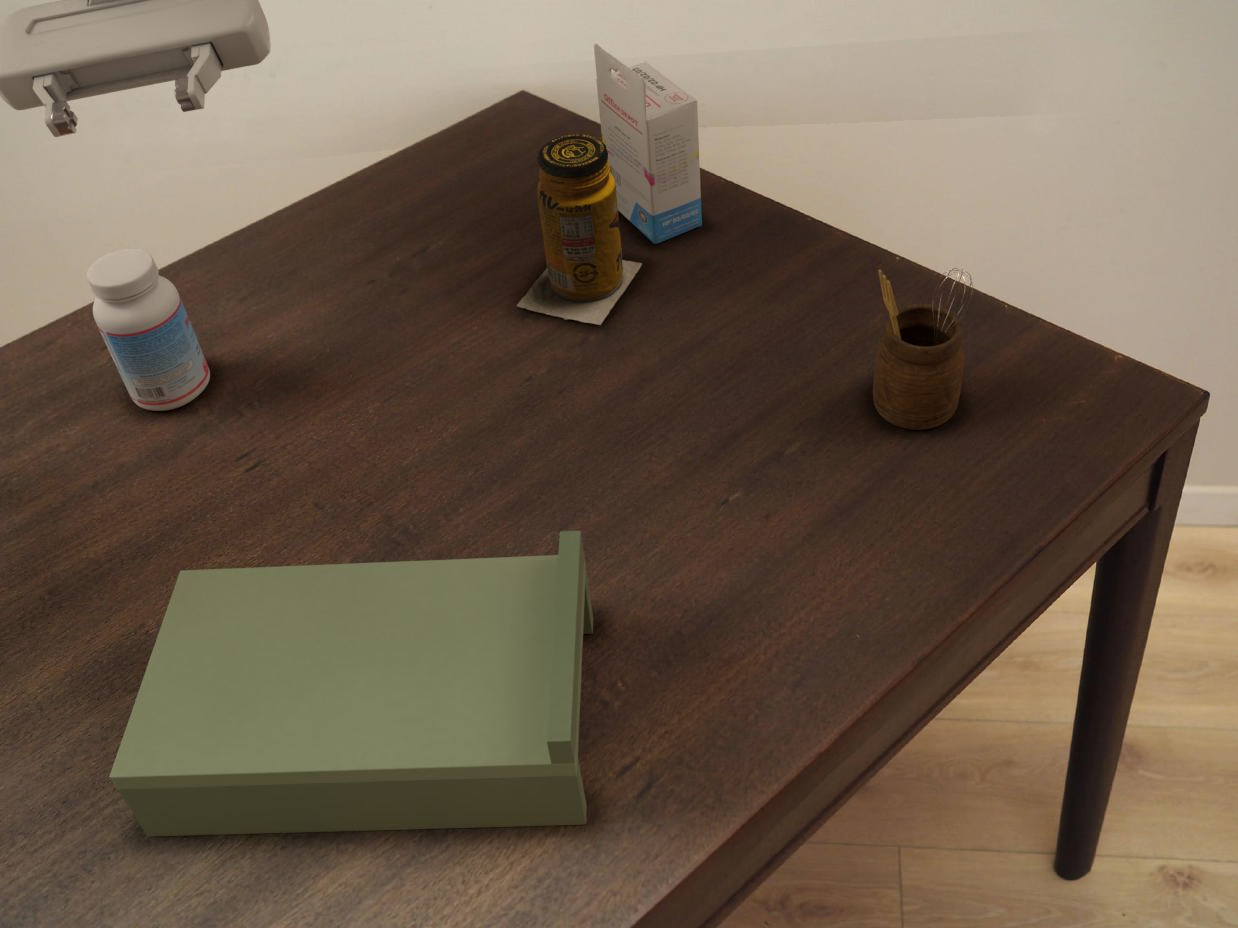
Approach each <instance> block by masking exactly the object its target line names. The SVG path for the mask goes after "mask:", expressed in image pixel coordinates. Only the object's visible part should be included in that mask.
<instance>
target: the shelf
mask: <svg viewBox="0 0 1238 928" xmlns="http://www.w3.org/2000/svg"><path fill="white" fill-rule="evenodd" d="M558 539H559V540H558V554H553V555H551V554H550V555H528V556H527V555H525V556H502V557H477V558H453V559H430V560H428V559H427V560H406V561H405V560H403V561H379V562H377V561H376V562H355V563H354V562H353V563H352V562H351V563H332V564H331V563H328V564H307V565H306V564H305V565H304V564H303V565H284V566H283V565H281V566H256V567H233V568H214V569H213V568H209V569H207V568H206V569H183V570H182V569H181V570H180V571H179V573H178V576H177V579H176V581H175V585H174V587H173V590H172V593H171V596H170V600H169V602H168V605H167V608H166V611H165V614H164V616H163V619H162V623H161V625H160V628H159V631H158V634H157V637H156V640H155V642H154V645H153V649H152V651H151V654H150V657H149V660H148V663H147V666H146V669H145V672H144V675H143V678H142V681H141V684H140V686H139V689H138V692H137V695H136V698H135V701H134V703H133V707H132V710H131V713H130V716H129V718H128V721H127V724H126V726H125V729H124V733H123V736H122V739H121V741H120V744H119V748H118V750H117V753H116V756H115V759H114V762H113V765H112V768H111V771H110V774H109V779H110V781H111V783H112V784H113V785H114V787H115V788H116V790H117V792H118V793H119V795H120V796H121V798H122V799H123V801H124V802H125V804H126V806H127V807H128V808H129V810H130V812H131V813H132V815H133V816H134V817H135V819H136V820H137V823H138V824H139V825H140V827H141V828H142V830H143V831H144V833H145V834H146V836H147V837H183V836H186V837H187V836H216V835H217V836H219V835H221V836H223V835H255V834H257V835H258V834H293V833H295V834H296V833H329V832H331V833H332V832H364V831H365V832H366V831H367V832H368V831H399V830H406V831H407V830H436V829H438V830H439V829H474V828H475V829H476V828H478V829H479V828H510V827H511V828H512V827H514V828H516V827H548V826H549V827H550V826H551V827H552V826H583V825H584V826H585V825H586V824H587V810H588V809H587V808H588V807H587V799H586V795H585V794H586V793H585V789H584V783H583V778H582V777H583V776H582V772H581V765H580V761H579V756H578V755H579V740H580V739H579V738H580V737H579V736H580V716H581V714H580V713H581V691H582V689H581V688H582V668H583V664H582V663H583V647H584V646H583V645H584V635H593V633H594V613H593V607H592V599H591V592H590V586H589V579H588V572H587V565H586V558H585V550H584V543H583V537H582V531H581V530H561V531H559V538H558Z"/></svg>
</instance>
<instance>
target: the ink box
mask: <svg viewBox="0 0 1238 928" xmlns="http://www.w3.org/2000/svg"><path fill="white" fill-rule="evenodd" d="M593 53H594V61H595V62H594V64H595V74H596V80H595V81H596V90H597V101H598V102H597V103H598V111H599V122H600V133H601V141H602V142H603V143H604V144H605V145H606V149H607V151H608V161H609V165H610V172H611V174H612V175H613V177H614V179H615V185H616V191H617V193H616V196H617V204H618V213H620V214H621V215H622V216H623V217H624V218H626V220H628V221H629V222H630V223H631V224H632V225H633V226H634V227H635V228H637V230H639V231H640V233H642V234H643V235H644V236H645V237H646V238H647V239H648V240H649V241H650V242H651V243H653V244H654V245H657V244H660V243H663V242H665V241H667V240H669V239H673V238H674V237H677V236H680V235H682V234H684V233H687V232H689V231H692V230H694V229H696V228H699V227H702V225H703V217H702V195H701V194H702V193H701V192H702V191H701V169H700V168H701V167H700V166H701V165H700V164H701V163H700V140H699V139H700V138H699V137H700V136H699V113H698V109H699V108H698V107H699V106H698V100H697V99H696V98H694V97H693V96H691V94H689V93H688V92H687V91H686V90H684V89H682V88H681V87H680V86H678V85H677V84H676V83H675V82H673V81H672V80H671V79H669V78H668V77H666V75H664V74H662V73H661V71H658V70H657V69H656V68H654V67H653V66H652V65H651V64H650V63H648V62H647V61H642V62H639V63H637V64H634V65H631V66H627V65H626V64H624V63H623V62H621V61H620V60H619V59H617V58H616V57H614V56H613V54H611V53H609V52H608V51H607V50H605V49H604V48H602V47H601V46H600V45H599V44H598V43H594V45H593ZM612 71H613V72H612Z"/></svg>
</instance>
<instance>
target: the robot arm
mask: <svg viewBox="0 0 1238 928" xmlns="http://www.w3.org/2000/svg"><path fill="white" fill-rule="evenodd" d="M270 53H271V34H270V28H269V24H268V20H267V17H266V14H265V13H264V10H263V8H262V6H261V3H260V0H55V1H50V2H45V3H40V4H35V5H29V6H26V7H23V8H20V9H16V10H15V11H13V12H12V13H10V14H9V15H8V16H7V17H6V18H5V19H4V20H3V22H2V23H1V25H0V98H1V100H3V102H5V103H6V104H7V105H8V106H10V107H11V108H12V109H14V110H16V111H24V110H29V109H30V110H31V109H34V108H35V109H36V108H40V107H44V108H45V109H44V110H45V111H44V123H45V125H46V127H47V129H48V130H49V132H50V133H51V134H52V136H53V137H54V138H59V137H65V136H68V135H74V134H76V133H77V128H76V127H78V117H77V116H76V114H75V112H74V111H72V110H71V106H70V105H69V103H68V102H72V101H76V100H80V99H86V98H91V97H96V96H101V95H107V94H112V93H118V92H122V91H127V90H132V89H138V88H143V87H147V86H152V85H157V84H164V83H168V82H173V81H174V87H175V89H174V97H175V101H176V102H177V104H178V105H180V109H181V111H182V112H183V113H186V112H192V111H197V110H199V111H200V110H204V109H205V102H206V101H205V99H206V94H208V93H209V92H210V90H211V89H212V88H213V87H214V86H215V84H216V83H217V82H218V81H219V80H220V78H221V77H222V72H224V71H229V70H234V69H240V68H247V67H250V66H257V65H259V64H261V63H262V62H263V61H264V60H265V59H266V58H267V57H268V56H269V55H270Z"/></svg>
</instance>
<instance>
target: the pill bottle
mask: <svg viewBox="0 0 1238 928" xmlns="http://www.w3.org/2000/svg"><path fill="white" fill-rule="evenodd" d="M159 272H160V271H159V268H158V266H157V264H156V261H155V260H154V258H153V255H152V254H151V253H150V252H148V251H147V250H144V249H141V248H122V249H117V250H114V251H112V252H108V253H107V254H104V255H102V256H101V257H99V258H98V259H95V261H94V262H93V263H91V265H90V266H89V267H88V269H87V272H86V279H87V281H88V283H89V286H90V290H91V292H92V294H93V295H95V299H94V302H93V305H92V316H93V319H94V321H95V324H96V327H97V328H98V330H99V332H100V335H101V337H102V340H103V341H104V343H105V345H106V349H107V350H108V352H109V354H110V356H111V358H112V360H113V362H114V365H115V367H116V369H117V371H118V373H119V376H120V378H121V380H122V382H123V384H124V386H125V388H126V391H127V393H128V395H129V397H130V399H131V400H132V401H133V402H134V404H135V405H136V406H138V407H140V408H142V409H144V410H148V411H153V412H164V411H170V410H175V409H179V408H180V407H183V406H186V405H187V404H189V403H190V402H192V401H193V400H195V399H196V398H198V397H199V395H201V394H202V393H203V391H204V390H205V389H206V387H207V386H208V384H209V383H210V380H211V378H210V377H211V371H210V368H209V365H208V363H207V360H206V357H205V355H204V352H203V350H202V348H201V347H202V346H201V344H200V343H199V340H198V338H197V335H196V333H195V330H194V328H193V325H192V323H191V321H190V318H189V316H188V313H187V311H186V307H185V306H184V303H183V301H182V299H181V296H180V294H179V291H178V289H177V288H176V285H174V284H173V282H172V281H170V280H169V279H167V278H166V277H165V276H162V275H160V273H159Z"/></svg>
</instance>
